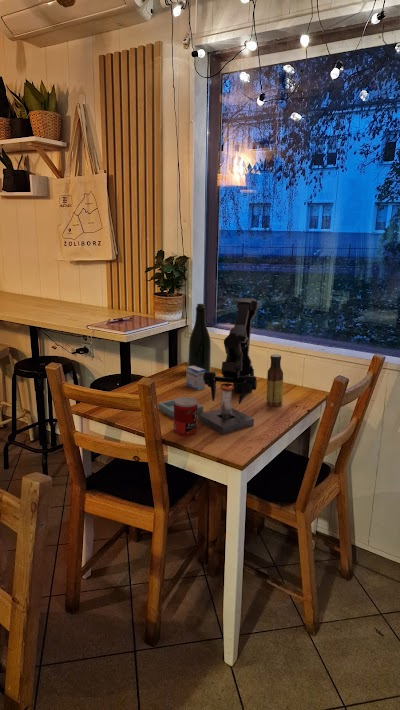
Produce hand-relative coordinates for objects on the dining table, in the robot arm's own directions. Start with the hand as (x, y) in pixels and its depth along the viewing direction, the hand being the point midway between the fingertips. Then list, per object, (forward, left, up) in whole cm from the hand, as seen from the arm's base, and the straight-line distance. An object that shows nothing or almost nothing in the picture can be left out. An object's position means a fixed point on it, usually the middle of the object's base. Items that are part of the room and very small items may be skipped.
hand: (226, 402), depth 165 cm
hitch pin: (-1, 0, -8) cm, 8 cm away
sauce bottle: (-29, -4, -8) cm, 30 cm away
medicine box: (-15, -37, -8) cm, 41 cm away
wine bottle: (-28, -52, -8) cm, 60 cm away
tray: (+6, -18, -8) cm, 21 cm away
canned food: (+15, -2, -8) cm, 18 cm away
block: (-1, 0, -8) cm, 8 cm away
